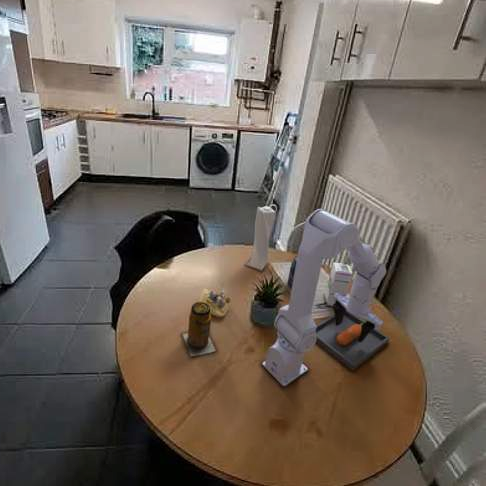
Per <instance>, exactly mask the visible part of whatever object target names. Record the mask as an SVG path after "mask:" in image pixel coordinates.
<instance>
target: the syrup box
mask: <svg viewBox="0 0 486 486" xmlns="http://www.w3.org/2000/svg"><path fill="white" fill-rule="evenodd" d="M352 278H353V270H352V268H351V265H350V264H347V263H344V262H343V263H341V262H333V263H332V267H331V269H330V274H329V279H328V282H327V286H326V290H325V294H324V298H325V301H326V305H327V306H330V307H332V306H333V304H334V303H335V301H333V300H332V299H333V296H334V295H335V294H337V293H338V294H340V295H342V296H344V297H347V296H348V293H349V289H350V285H351V281H352ZM347 298H348V297H347Z"/></svg>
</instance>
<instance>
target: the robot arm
mask: <svg viewBox="0 0 486 486" xmlns="http://www.w3.org/2000/svg"><path fill="white" fill-rule="evenodd" d="M360 231H361V230H360V229H359V227H358V226H357V225H356V224H355V223H353V222H350V221H348V220H345V219H344V218H342V217H339V216H337V215H336V214H333V213H331V212H329V211H327V210H326V209H324V208H317V209H316V210H314V211H312V212H311V214H310V215H309V216H308V217H307V218H306V219H305V220H304V225H303V231H302V238H301V242H300V245H299V248H298V252H297V256H298V257H297V263H296V268H295V274H294V279H293V285H292V289H291V291H290V297H289V302H288V304H286V305H284V306H282V307H280V308H279V310H278V314H277V315H276V317H275V318H274V319H275V320H274V323H273V326H274V328H275V329H276V330H277V332H276V335H277V339H276V341H275V343H274V344H272V345H271V346H269V348H268V349H267V351H266V358H265V360H264V361H263V362H262V366H263V367H264V368H265V370H267V371H268V373H270V374H271V375H272V376H273V377H274V378H275V379H276V381H277V382H278V383H279V384H280V385H281V386H283V387H286V386H287V385H289V384H290V383H291V382H293V381H294V380H296V379H297V378H299V377H300V376H302V375H303V374H305V373H306V372H307V371H308V370H309V369H308V367H307V366H306V365H305V364H304V363H303V362H304V357H305V354H306V353H308V352H309V351H310V350H312V349H313V347H315V345H316V343H317V342H316V340H317V334H316V328H317V327H316V325H317V324H316V322H315V319H314V318H313V316H312V312H313V311H312V310H313V306H314V301H315V298H316V297H315V296H316V293H317V287H318V284H319V278H320V273H321V269H322V266H323V265H322V264H323V260H333V259H335V258H336V257H337V256H338V255H340V254H341V253H343V252H344V251H346V250H348V251H347V257H348V259H349V260H350V262H351V263H352V264H353V265H352V271H354V272H356V273H355V275H354V279H353V282H352V285H351V288H350V292H349V294H348V295H349V296H348V297H344V296H342V295H340V294H338V293H337V294H335V295H334V296H333V299H332V300H333V301H335V303H334V304H333V306H331V308H332V309H333V312H334V315H335V320H336V325H337V326H338V325H340V324H341V323H342V320H343V316H344V313H345V311H346V310H347V311H348V312H350V313H351V314H353V315H355V316H356V317H358V318H359V319H361V320H363V321H364V322H365V323H364V324H362V329H361V334H360V336H359V339H358V341H359V342H362V341H363V340H364V339H365V337H366V336H367V335H368V334H369V333H370V332H371V331H372V330H373V329H374V328H375V329H376V330H378V331H379V330H380V329H381V328H382V326H383V323H384V321H383V320H381V319H380V318H379V317H378V316H377V315H375V314H374V313H373V311H371V310H370V306H371V304H372V300H373V298H374V295H375V292H376V289H377V288H378V287H379V285H380V284H381V281H382V280H383V279H384V277H386V274H387V267H386V266H385V264H384V262H383V263H382V262H381V261H379V260H378V256H377V254H375V253H374V252H373V247H372V245H370V244H369V243H363V242H362V240H361V238H360V236H359V235H360Z"/></svg>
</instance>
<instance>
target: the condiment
mask: <svg viewBox="0 0 486 486" xmlns="http://www.w3.org/2000/svg"><path fill="white" fill-rule="evenodd" d="M211 319H212V314H210V306H209V305H208V304H207V303H205V302H198V301H197V302H194V303H193V304H192V305H191V308H190V313H189V317H188V332H187V333H182V337H183V340H184V343H185V345H186V347H187V351H188V353H189V356H190V357H197V356H202V355H207V354H210V353H214V352H216V348H215V347H214V344H213V342H212V340H211V338H210V332H211V323H212V320H211Z"/></svg>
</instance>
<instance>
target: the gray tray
mask: <svg viewBox="0 0 486 486" xmlns="http://www.w3.org/2000/svg"><path fill="white" fill-rule="evenodd" d="M365 322H366V321H365V320H363V319H362V318H360V317H357V316H355V315H353V314H351V313H350V312H348V311H347V310H346V311H345V313H344V316H343V320H342V323H341V324H340V325H338V326H337V325H336V320H335V314H333V315H331V316H329V317H328V318H326V319H325V320H323V321H321V322H320V323H318V324H316V327H317V328H316V334H317V340H316V343H317V344H318V345H319V346H320V347H321V348H322V349H324V350H325V351H326V352H327V353H329V354H330V355H332V356H333V357H334V358H335V359H337V361H339V362H340V363H342V365H344V366H345V367H346V368H348V369H349V370H350V371H351V372H353V371H355V370H356V369H357V368H358V367H360V366H361V365H362V364H363V363H364V362H366V361H367V360H368V359H370V358H371V357H372V356H373V355H375V354H376V353H377V352H378V351H380V350H381V349H382V348H383V347H385V345H387V344H388V343H389V340H390V337H388V336H387V335H385V334H383V332H380V331H379V329H378V330H377V329H376V328H374V329H373V330H372V331H371V332H370V333H369V334H368V335H367V336H366V337H365V339H364V340H363V341H362V342H359V341H358V339H359V336H360V335H359V336H358V337H356V338H355V339H354V340H352V341H351V342H349V343H348V344H347V345H344V346H343V345H340V344H339V343H338V342H337V336H338V335H339V334H340V333H342V332H344V331H345V330H347V329H348V328H350V327H351V326H353V325H354V324H361V323H365Z"/></svg>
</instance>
